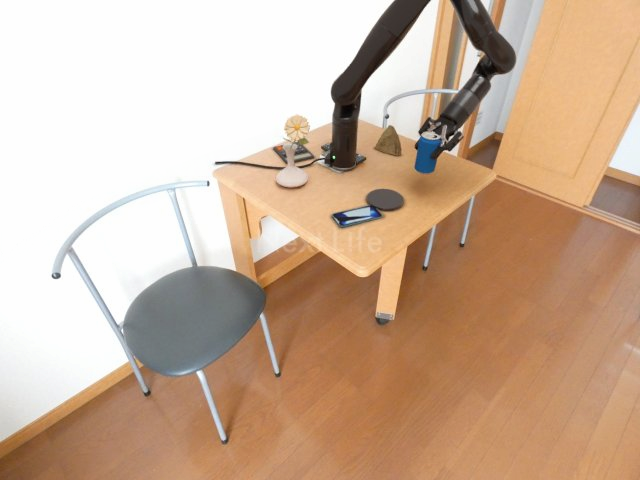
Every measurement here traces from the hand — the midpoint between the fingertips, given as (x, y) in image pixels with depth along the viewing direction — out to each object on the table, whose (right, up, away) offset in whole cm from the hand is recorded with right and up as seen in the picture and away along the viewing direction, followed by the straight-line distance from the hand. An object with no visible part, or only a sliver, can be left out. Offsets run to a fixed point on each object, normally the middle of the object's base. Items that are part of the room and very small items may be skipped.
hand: (423, 153), depth 115 cm
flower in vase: (-41, -6, +18) cm, 46 cm away
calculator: (-43, +8, +35) cm, 56 cm away
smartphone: (-20, -20, +2) cm, 28 cm away
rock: (-4, +9, +36) cm, 38 cm away
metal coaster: (-11, -14, +9) cm, 19 cm away
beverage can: (+1, -5, +5) cm, 7 cm away
